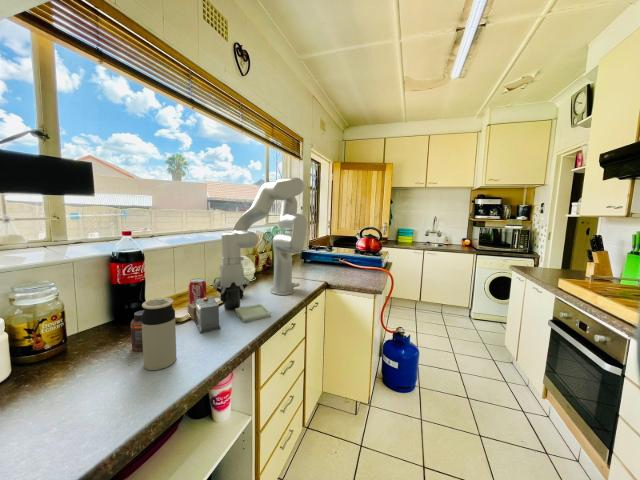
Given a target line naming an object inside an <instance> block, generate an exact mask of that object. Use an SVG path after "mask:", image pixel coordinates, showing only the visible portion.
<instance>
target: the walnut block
mask: <svg viewBox="0 0 640 480" xmlns="http://www.w3.org/2000/svg"><path fill="white" fill-rule="evenodd" d="M188 313H189V314H190V316H191V318H190V319H191V320H192V321H195V320H197V316H196V303H193V304H189V303H188V304H187V314H188Z"/></svg>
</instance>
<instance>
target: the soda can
mask: <svg viewBox="0 0 640 480" xmlns="http://www.w3.org/2000/svg"><path fill="white" fill-rule="evenodd" d="M205 297H207V282H206V280H205V279H204V278H201V277H199V278H192V279H190V280H189V284H188V305H189V304H193V303H196V299H201V298H205Z"/></svg>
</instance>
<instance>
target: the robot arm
mask: <svg viewBox="0 0 640 480" xmlns="http://www.w3.org/2000/svg"><path fill="white" fill-rule="evenodd" d="M304 189H305V184H304V181H303V180H302V179H301V178H300V177H296V176H295V177H281V178H278V179H276V180H275V181H267V182H264V183H263V184H262V185H261V186H260V188H259V190H258V192H257V194H256V196H255V198H254V199H253V202H252V204H251V206H250V208H248V209H247V210H246V211H245V212H244V213H243V214H242V215H241V216H240V217H239V218H238V219H237V220H236V222H235V223H234V226H233V227H232V229H231V231H227V232H223V233H222V234H221V263H220V264H219V271H218V276H219V279H218V278H217V279H216V281H215V283H214V284H213V283H212V288H213V289H214V288H215V289H214V290H216V292H218V293H219V294H220V295H219V296H220V297H219V298H220V301H221V302H222V303H223V304H224V303H225V294H224V291H225V289H226V288H228V287H230V286H231V283H233V282H234V283H235V285H237V286H239V287H240V301H242V300H243V297H244V291H245V289H246V288H247V286H248V285H249V284H250V282H251V280H250V279H249V278H247V277H245V272H244V267H243V262H242V261H244V260H245V259H244V257H243V256H241V249H252V248H255V247H257V245H258V243H259V242H260V239H259V235H258V234H257V233H256V232H254V231H251V230H249V228H251V227H252V225H253V224H255V223H257V222H260V221H262V220H263V219H265V218H267V217H268V216H269V213H270V211H271V209H272V207H273V205H274V203H275V201H280V203H281V204H280V205H281V206H280V212H279V219H278V227H279V229H280V230H282V231H285V232H279V233H277V234H275V236H274V237H273V239H272V249H273V258H274V259H273V261H274V262H273V287H272V288H270V293H271V294H273V295H276V296H277V295H278V296H286V295H291V294H294V292H295V288H296V287H297V288H299V287H300V282H293V281H292V280H293V279H292V277H293V276H292V275H293V257H292V254H300V253H301V252H302V251H303V250H304V248H305V242H306V236H307V231H308V219H307V218H306V216H305V215H304V214H301V213H298V200H297V198H296V196H299V195H301V194H302V193H303V191H304ZM286 232H291V233H286ZM244 280H245V283H244ZM218 285H219V286H220V285H221V288H220V287H219V286H218Z"/></svg>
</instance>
